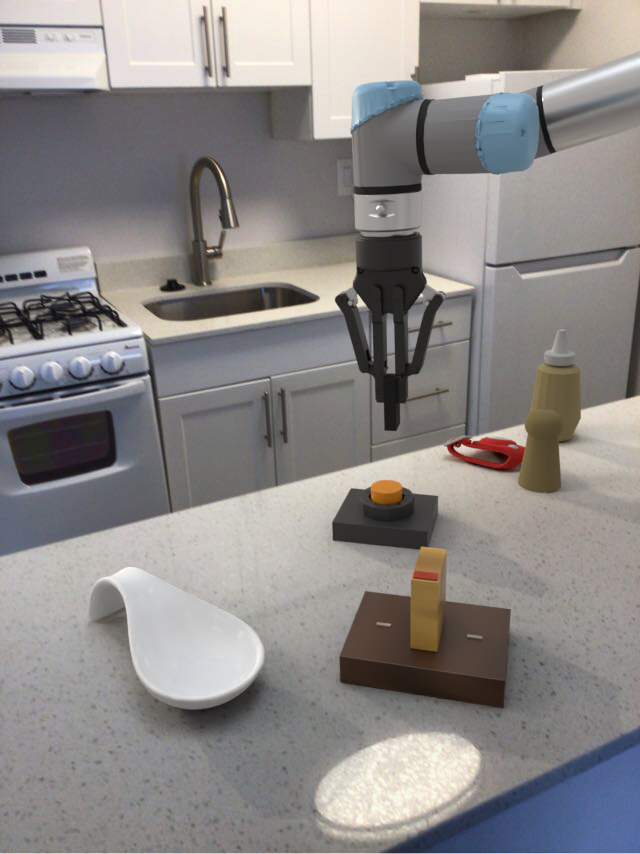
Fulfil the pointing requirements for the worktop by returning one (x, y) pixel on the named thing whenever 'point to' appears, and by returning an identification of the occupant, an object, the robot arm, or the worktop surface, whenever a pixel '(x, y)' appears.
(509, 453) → the red looped piece
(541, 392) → the squeeze bottle
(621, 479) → the worktop surface
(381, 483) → the alarm button
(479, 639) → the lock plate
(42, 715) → the worktop surface
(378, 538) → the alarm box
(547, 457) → the tan pawn
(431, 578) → the thumbturn
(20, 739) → the worktop surface
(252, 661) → the spoon rest
